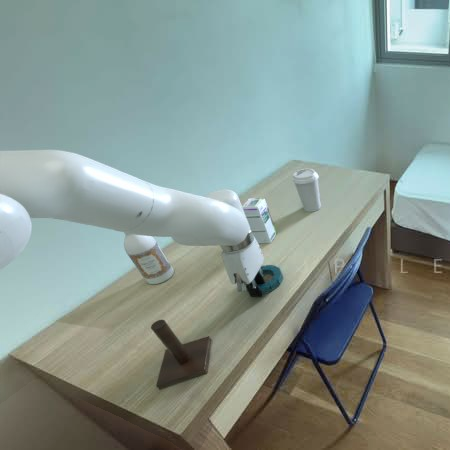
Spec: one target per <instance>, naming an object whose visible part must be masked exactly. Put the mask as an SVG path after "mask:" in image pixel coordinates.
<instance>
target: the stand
mask: <svg viewBox="0 0 450 450" xmlns="http://www.w3.org/2000/svg"><path fill="white" fill-rule="evenodd" d="M150 329H151V331H152V332H153V333H154V335H156V337H157V338H158V340H160V342H161V343H162V344H163V346H164V347H165V348H166V349H165V350H164V353H163V358H162V362H161V365H160V369H159V374H158V377H157V381H156V384H155V387H156V388H157V389H158V390H162V389H163V390H164V389H166V388H169V387H172V386H173V385H177V384H180V383H183V382H186V381H189V380H192V379H195V378H198V377H200V376H204V375H206V374H208V372H209V365H210V355H211V347H212V338H211V336H210V335H207V336H205V337H201V338H199V339H195V340H192V341H188V342H186V343H182V342H181V341H180V339H179V338H178V336H177V335H176V333H174V331H173V330H172V328H171V327H170V326H169V324H168V323H167V321H166V320H165V319H158V320H156V321H154V322H153V323H152V324H151V325H150Z"/></svg>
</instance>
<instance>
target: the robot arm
mask: <svg viewBox="0 0 450 450" xmlns="http://www.w3.org/2000/svg"><path fill="white" fill-rule="evenodd" d="M242 206H243V205H242V203H241V200H240V198H239V195H238V194H237V193H236V192H235V191H233V190H231V189H226V188H225V189H218V190H214V191H211V192H209V193H207V194H205V195H204V196H203V195H198V194H194V193H189V192H185V191H182V190H177V189H174V188H169V187H166V186H160V185H157V184H154V183H151V182H149V181H147V180H144V179H141V178H138V177H136V176H134V175H131V174H129V173H126V172H124V171H122V170H119V169H117V168H115V167H113V166H110V165H107V164H105V163H102V162H100V161H98V160H95V159H93V158H90V157H87V156H84V155H82V154H79V153H76V152H72V151H67V150H61V149H27V150H26V149H21V150H17V149H15V150H0V271H1V270H3V269H4V268H6V267H7V266H8V265H9V264H11V263H12V262H13V261H14V260H15V259H17V257H19V255H20V254H22V252H23V251H24V250H25V248H26V246H27V245H28V243H29V241H30V239H31V235H32V228H33V227H32V226H33V224H32V219H52V220H59V221H67V222H70V223H76V224H81V225H85V226H91V227H97V228H103V229H108V230H113V231H116V232H119V233H120V232H121V233H124V232H125V233H129V234H135V235H144V236H152V237H158V238H171V239H172V240H173V241H174V242H175V243H176V244H179V245H182V246H186V247H188V246H189V247H206V246H208V247H209V246H217V247H218V246H220V248H221V250H222V251H221V258H222V263H223V265H224V266H223V267H224V269H225V271H226V274H227V277H228V280H229V282H230V283H231V284H232V285H236V288H237V292H238V293H240V292H241V293H243V292H245V291H246V290H248V292H247V293H248V294H249V296H250V297H251V298H261V297H263V294H262V292H261V290H260V288H259V285H262V284H265V283H267V282H266V280H265V278H264V275H263V271H262V266H263V264H264V262H265V257H264V254H263V251H262V248H261V247H260V245H259V244H260V243H258V242H257V241H256V239H255V237H254V236H253V234H252V231H251V228H250V226H249V223H248V221H247V218H246V215H245V213H244V210H243V208H242ZM125 233H124V234H125ZM249 283H251V284H249Z"/></svg>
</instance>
